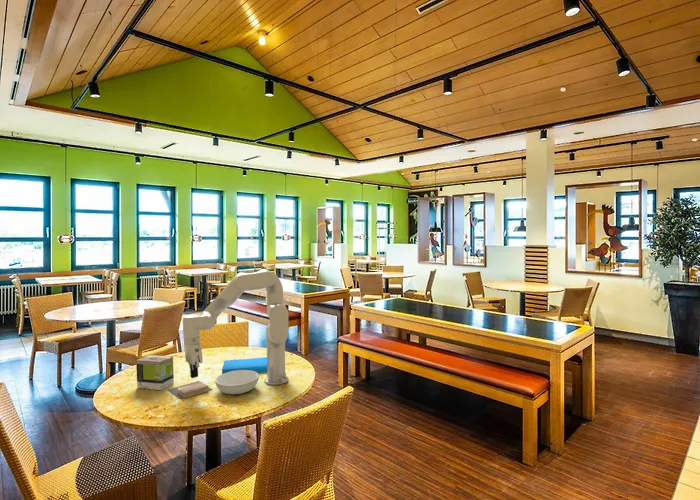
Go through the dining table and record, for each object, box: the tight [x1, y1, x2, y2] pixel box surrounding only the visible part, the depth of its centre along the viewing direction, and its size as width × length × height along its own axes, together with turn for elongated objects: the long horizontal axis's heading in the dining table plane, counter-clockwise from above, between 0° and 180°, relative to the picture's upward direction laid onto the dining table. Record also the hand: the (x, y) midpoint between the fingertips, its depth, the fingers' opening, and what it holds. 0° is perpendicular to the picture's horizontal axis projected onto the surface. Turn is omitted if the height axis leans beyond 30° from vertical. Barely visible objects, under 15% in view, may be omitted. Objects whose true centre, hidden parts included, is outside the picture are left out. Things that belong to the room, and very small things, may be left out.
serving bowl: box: [214, 370, 259, 395], centre depth 203 cm, size 21×21×7 cm
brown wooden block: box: [178, 381, 210, 399], centre depth 200 cm, size 3×12×8 cm
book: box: [221, 356, 267, 375], centre depth 234 cm, size 17×4×25 cm
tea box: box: [135, 354, 175, 391], centre depth 210 cm, size 15×10×15 cm
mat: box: [167, 380, 213, 400], centre depth 203 cm, size 16×16×1 cm
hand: (194, 376), depth 200 cm, fingers closed
